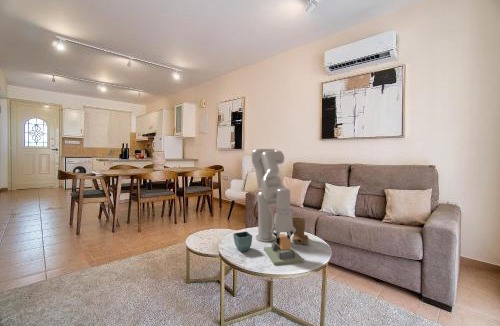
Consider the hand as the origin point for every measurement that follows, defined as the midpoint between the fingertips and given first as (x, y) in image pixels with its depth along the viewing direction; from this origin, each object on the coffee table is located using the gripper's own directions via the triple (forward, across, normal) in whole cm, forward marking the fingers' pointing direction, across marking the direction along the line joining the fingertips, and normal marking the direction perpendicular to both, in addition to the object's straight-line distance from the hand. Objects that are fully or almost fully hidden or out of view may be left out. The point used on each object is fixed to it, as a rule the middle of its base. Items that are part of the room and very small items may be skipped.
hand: (283, 243), depth 138 cm
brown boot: (+7, -18, -20) cm, 28 cm away
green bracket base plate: (+7, 0, 0) cm, 7 cm away
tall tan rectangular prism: (+1, 0, 0) cm, 1 cm away
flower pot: (+7, +20, -14) cm, 25 cm away
